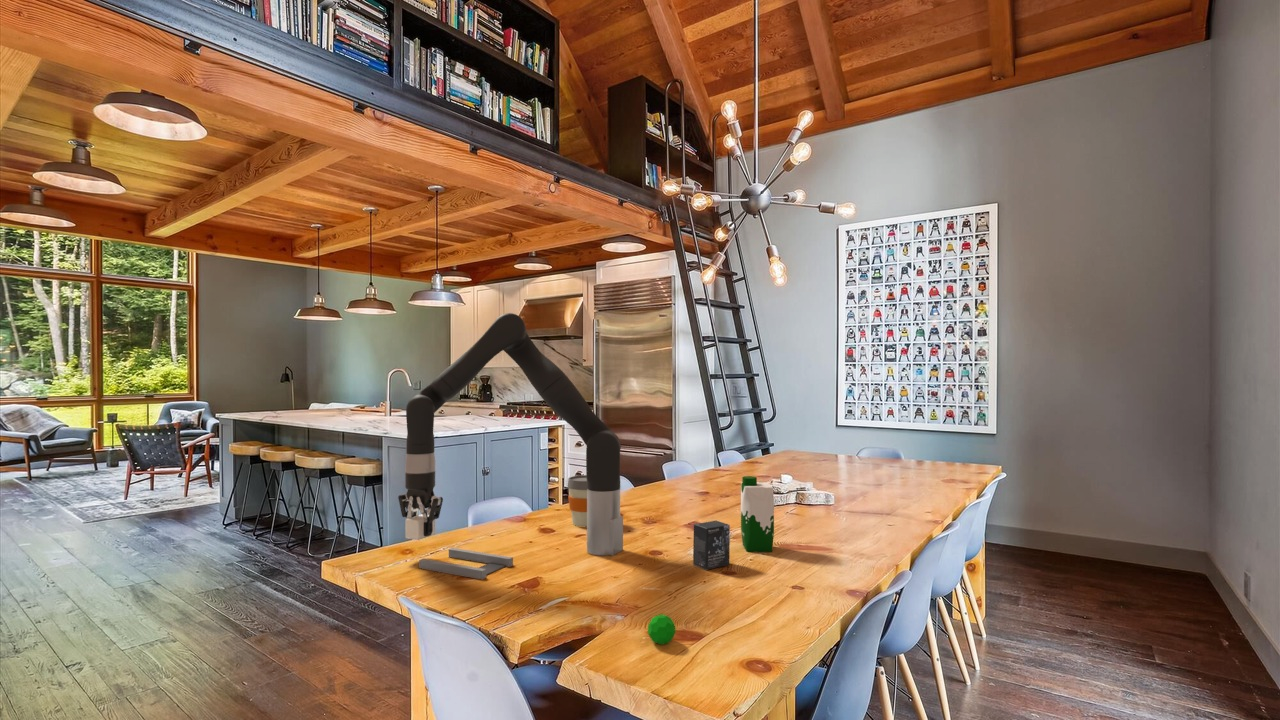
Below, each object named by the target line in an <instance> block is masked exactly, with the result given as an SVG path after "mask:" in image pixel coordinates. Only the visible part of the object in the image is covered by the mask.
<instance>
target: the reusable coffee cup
mask: <svg viewBox="0 0 1280 720" xmlns="http://www.w3.org/2000/svg"><path fill="white" fill-rule="evenodd" d="M567 488H568V498H567V499H568V505H569V511H570V512H571V519H572V525H573V526H574V525H576V526H575V527H577V526H585V527H584V528H587V527H586V526H587V478H586V474H585V475H583V474H582V475H574V476H569V477H568V479H567Z"/></svg>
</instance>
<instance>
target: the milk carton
mask: <svg viewBox="0 0 1280 720" xmlns="http://www.w3.org/2000/svg"><path fill="white" fill-rule="evenodd" d="M757 480H758V479H757V476H750V475H747V476H742V482H740V532H741V542H742V546H743V548H744V550H745V551H746V552H747V553H751V552H752V553H772V552H773V547H774V536H775V497H774V495H775V494H774V487H773V486H772V485H771V483H769V482H759V481H757Z"/></svg>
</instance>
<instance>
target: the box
mask: <svg viewBox="0 0 1280 720" xmlns="http://www.w3.org/2000/svg"><path fill="white" fill-rule="evenodd" d="M730 527H731V525H730V524H728V523H725V522H722V521H720V520H719V521H718V520H712V521H710V520H709V521H706V522H700V523H693V540H692V542H693V550H692V551H693V552H692V553H693V554H692V555H693V556H692V559H693V560H692V564H693V566H696V567H698V568H701V569H702V570H705V571H708V570H713V569H716V568H720V567H726V566H727V567H728V566H730V557H731V555H730V549H731V548H730V545H731V544H730V540H731V537H730V536H731V535H730V533H731V532H730V530H731V529H730Z"/></svg>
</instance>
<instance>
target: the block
mask: <svg viewBox="0 0 1280 720" xmlns="http://www.w3.org/2000/svg"><path fill="white" fill-rule="evenodd" d="M427 515H428V514H427ZM428 517H429V515H428ZM404 519H405V520H404V521H405V523H404V524H405V529H404V531H405V537H404V538H405V539H409V540H414V541H415V540H416V541H419V540H423V539H426V538H429V537H431V536H435V535H436V519H435V520H433V527H432V528H433V531H432V534H431V535H430V536H424V519H423V515H422V514H419V515H417V516H415V517H411V518H408V519H407V518H404Z"/></svg>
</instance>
